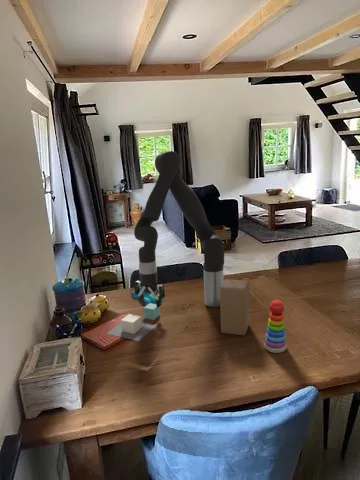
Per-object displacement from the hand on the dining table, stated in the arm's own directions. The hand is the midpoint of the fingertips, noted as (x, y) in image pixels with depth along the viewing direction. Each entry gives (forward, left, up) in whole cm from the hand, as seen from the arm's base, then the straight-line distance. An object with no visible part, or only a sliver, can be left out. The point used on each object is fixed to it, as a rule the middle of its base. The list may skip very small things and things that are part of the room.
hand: (150, 305), depth 161 cm
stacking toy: (-56, +4, -6) cm, 56 cm away
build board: (+1, +13, -6) cm, 15 cm away
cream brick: (+1, +13, -5) cm, 14 cm away
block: (-38, -4, -6) cm, 39 cm away
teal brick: (-1, 0, -6) cm, 6 cm away
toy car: (+13, -18, -7) cm, 23 cm away
